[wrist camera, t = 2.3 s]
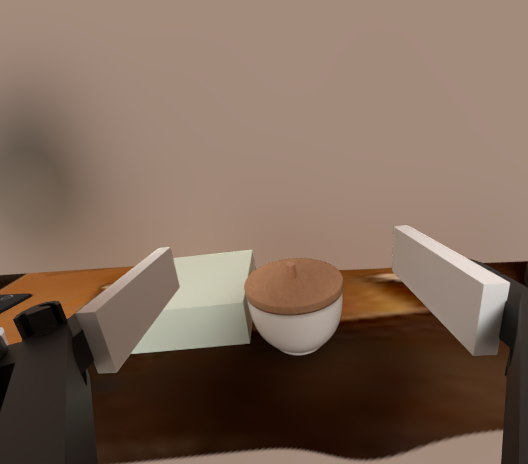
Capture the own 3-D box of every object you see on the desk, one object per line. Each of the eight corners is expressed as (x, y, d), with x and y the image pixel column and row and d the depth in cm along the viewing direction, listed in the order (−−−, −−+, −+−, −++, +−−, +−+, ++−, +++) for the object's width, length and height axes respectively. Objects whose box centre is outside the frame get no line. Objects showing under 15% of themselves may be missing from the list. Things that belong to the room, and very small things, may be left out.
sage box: (257, 280, 45) (252, 249, 44) (250, 346, 30) (242, 302, 28) (170, 289, 46) (162, 259, 45) (121, 357, 31) (106, 315, 29)
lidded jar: (259, 384, 25) (244, 300, 22) (250, 317, 35) (239, 254, 32) (364, 360, 26) (362, 277, 23) (325, 302, 36) (320, 240, 33)
